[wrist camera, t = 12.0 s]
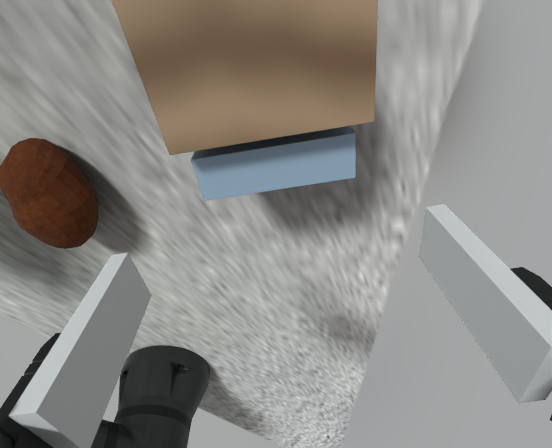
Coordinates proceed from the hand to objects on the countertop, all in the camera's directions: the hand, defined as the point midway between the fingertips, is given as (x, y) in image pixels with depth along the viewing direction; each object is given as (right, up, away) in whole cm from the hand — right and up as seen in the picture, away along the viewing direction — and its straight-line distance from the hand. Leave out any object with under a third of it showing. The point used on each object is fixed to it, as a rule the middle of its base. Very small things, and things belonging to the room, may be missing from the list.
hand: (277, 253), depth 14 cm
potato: (-23, +6, +20) cm, 31 cm away
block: (-1, +12, +17) cm, 21 cm away
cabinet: (-1, +15, +15) cm, 21 cm away
